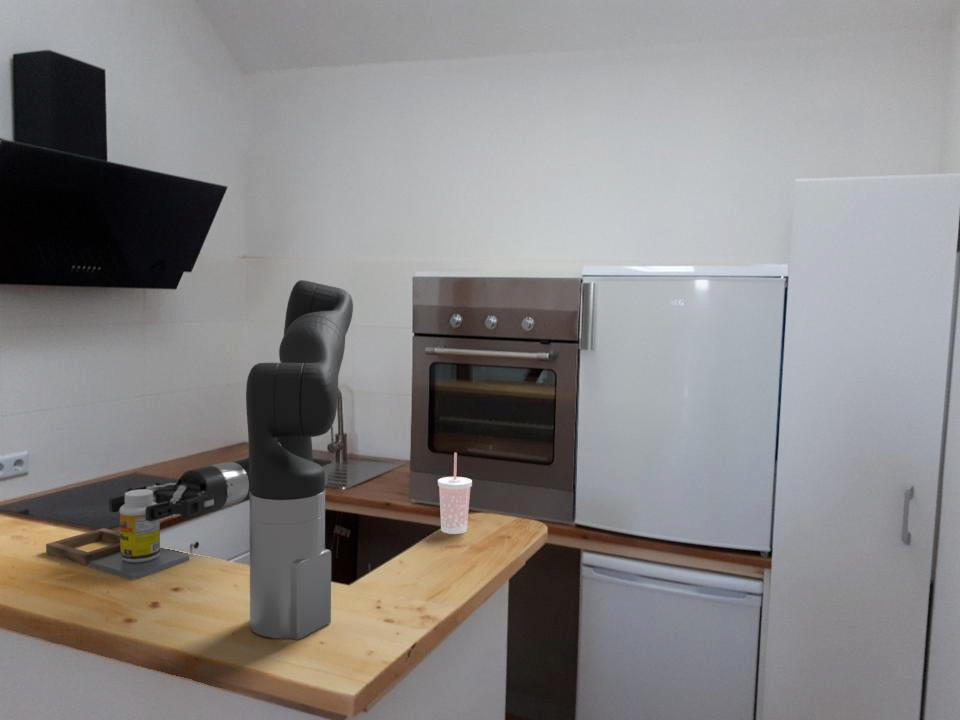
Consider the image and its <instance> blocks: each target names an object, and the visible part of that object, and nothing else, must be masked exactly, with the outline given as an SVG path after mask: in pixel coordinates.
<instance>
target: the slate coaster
mask: <svg viewBox="0 0 960 720" xmlns="http://www.w3.org/2000/svg"><path fill="white" fill-rule="evenodd" d="M189 561H190V555H189V554H186V553H183V552H178V551H175V550H172V549H167V548H164V547H161V546H160V554H159V555H158V557H156V558H155V559H153V560H150V561H146V562H139V563H131V562H126V561H124V560H123V559H122V558H121V552H119V553H116V554H112V555H109V556H106V557H103V558H100V559H96V560H93V561H90V564H89V567H90V568H92V569H96V570H99V571H102V572H104V573H109V574H112V575H115V576H117V577H118V576H119V577H122V578H125V579H128V580H132V581H134V580H137V579H140V578H142V577H146V576H148V575H151V574H154V573H157V572H160V571H162V570H166V569H169V568H172V567H174V566H177V565H180V564H182V563H185V562H189Z"/></svg>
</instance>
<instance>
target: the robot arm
mask: <svg viewBox="0 0 960 720" xmlns="http://www.w3.org/2000/svg"><path fill="white" fill-rule="evenodd" d="M289 294H290V295H289V298H288V301H287V306H286V312H285V317H284V318H285V319H284V320H285V321H284V328H283V329H284V330H283V337H282V339H281V342H280V344H279V349H278V356H279V362H259V363H256V364H254V365H253V366H252V368H250V370H249V373H248V376H247V379H246V388H245V389H246V390H245V405H246V409H245V410H246V421H247V422H246V423H247V435H248V436H247V437H248V438H247V439H248V457H247V458H244V459H243V458H242V459H239V460H235V461H231V462H222V463H215V464H211V465H206V466H201V467H198V468H194V469H193V468H192V469H190V470H189V469H188V470H186V471H185V472H183V473H182V474H181V476H180V477H179V479H178V480H177V482H169V483H168V482H167V483H165V484H163V485H162V483H161V482H160V481H154V482H151V483H145V484H141V485H136V486H132V487H127V488H125V493H126V492H128V491H132V490H139V489H147V490H151V491H153V501H155V502H156V503H157V504H154V505H150V506H147V507H146V509H145V515H146V520H147V521H155V520H158V519H159V520H161V519H165V518H168V517H171V518H177V517H179V516H181V518H182V519H189V518H191V517H194V516H202V515H205V514H208V513H212V512H216V511H219V510H222V509H225V508H229V507H232V506H234V505H236V504H238V503H241V502H245V501H249V628H250V629H251V631H252V632H253V633H255V634H256V635H259V636H262V637H265V638H266V637H267V638H274V639H275V638H276V639H294V640H300V639H302V638H305V637H306V636H308V635H310V634H311V633H313V632H316V631H317V630H319V629H321V628H323V627H324V626H326V625H328V624H331V622H332V617H331V616H332V551H331V550H330V549H327V548H326V472H325V469H324V468H323V467H322V466H321V465H320V464H318V463H316V462H314V456H313V443H312V442H313V441H312V438H315V437H319V436H323V435H325V434H327V433H328V432H329V431H330V430H331V428H332V427H333V425H334V422H335V419H336V416H337V411H338V401H339V399H338V397H339V375H340V371H341V370H340V369H341V366H342V363H343V359H344V354H345V347H346V346H345V345H346V335H347V333H348V331H349V328H350V325H351V323H352V319H353V313H354V303H353V298H352V295H351V294H350V293H349V291H347V290H345V289H343V288H340V287H336V286H332V285H326V284H323V283H319V282H318V283H317V282H314V281H309V280H304V279H300V280H298V281H296V282H295V284H294V285H293V287H292V289H291V291H290V293H289ZM125 493H124V494H120V495H116V496H112V497H110V498H109V499H108V510H109V512H111V513H116V512H119V510H120V507H121V506H122V505H124V504H125V501H124V500H125Z"/></svg>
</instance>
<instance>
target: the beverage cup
mask: <svg viewBox="0 0 960 720" xmlns="http://www.w3.org/2000/svg"><path fill="white" fill-rule="evenodd" d="M453 456H454V457H453V461H454V462H453V476H444V477H441V478H439V479H437V486H438V487H439V488H438V489H439V510H440V531H441V532H443V533H445V534H449V535H459V534H464V533H467V530H468V520H469V508H470V495H471V487H473V486H472V485H473V480H472V479H471V478H468V477H463V476H457V472H458V471H457V467H458V465H457V462H458V459H457V458H458V452H454V453H453Z"/></svg>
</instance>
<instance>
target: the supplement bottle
mask: <svg viewBox="0 0 960 720" xmlns="http://www.w3.org/2000/svg"><path fill="white" fill-rule="evenodd" d="M124 494H125V500H124V501H125V504H124V505H122V506H121V507H120V510H119V511H118V512H119V514H118V515H119V532H120V546H121V558H122V559H123V560H124V561H126V562H131V563H139V562H146V561H150V560H153V559H155V558H156V557H158V555H159V554H160V547H161V537H160V536H161V531H160V530H161V528H160V526H161V525H160V523H161V522H160V521H161V520H160V519H158V520H155V521H147V520H146V515H145V509H146V507H147V506H150V505H154V504H157V503H156V501H154V500H153V491H151V490H147V489H139V490H132V491H128V492H126V491H125V493H124Z"/></svg>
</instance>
